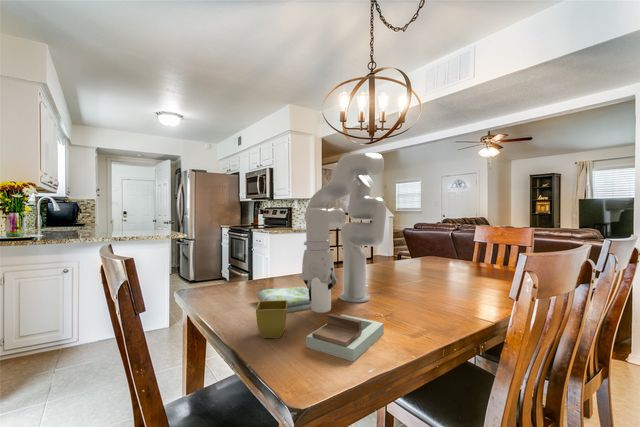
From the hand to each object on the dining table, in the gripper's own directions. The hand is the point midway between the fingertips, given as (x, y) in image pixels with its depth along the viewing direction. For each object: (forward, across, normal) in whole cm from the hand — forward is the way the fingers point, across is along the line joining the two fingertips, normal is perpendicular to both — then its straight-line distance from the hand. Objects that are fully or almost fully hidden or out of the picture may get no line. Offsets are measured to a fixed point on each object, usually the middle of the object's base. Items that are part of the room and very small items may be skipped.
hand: (319, 300), depth 99 cm
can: (+3, +1, 0) cm, 3 cm away
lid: (+3, +14, -13) cm, 19 cm away
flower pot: (+7, -6, -16) cm, 19 cm away
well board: (+7, +14, -7) cm, 17 cm away
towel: (+8, -20, +10) cm, 24 cm away
